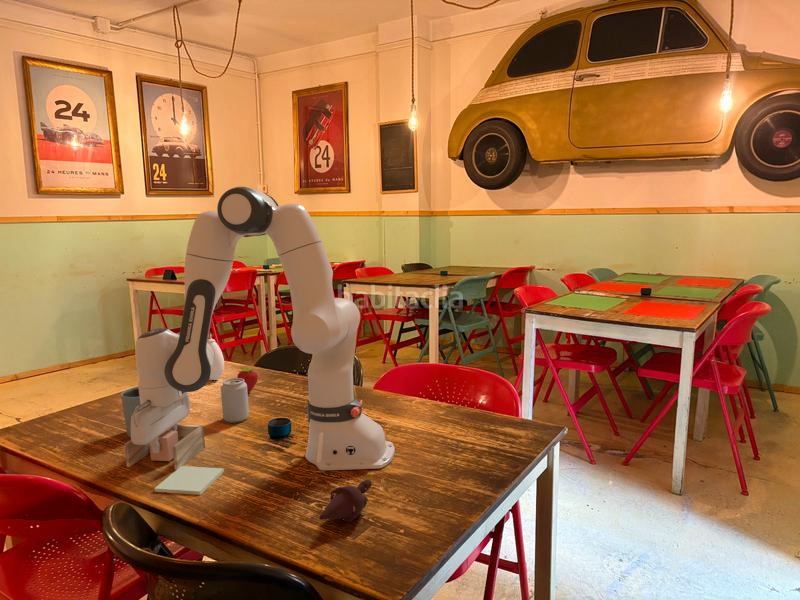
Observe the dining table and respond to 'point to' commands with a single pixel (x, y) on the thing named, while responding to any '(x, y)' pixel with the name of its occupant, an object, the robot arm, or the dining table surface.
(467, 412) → the dining table surface
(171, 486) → the green mat
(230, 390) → the can
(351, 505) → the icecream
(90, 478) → the dining table surface
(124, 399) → the grey cup
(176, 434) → the block
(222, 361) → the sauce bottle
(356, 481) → the dining table surface
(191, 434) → the open box
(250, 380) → the strawberry
